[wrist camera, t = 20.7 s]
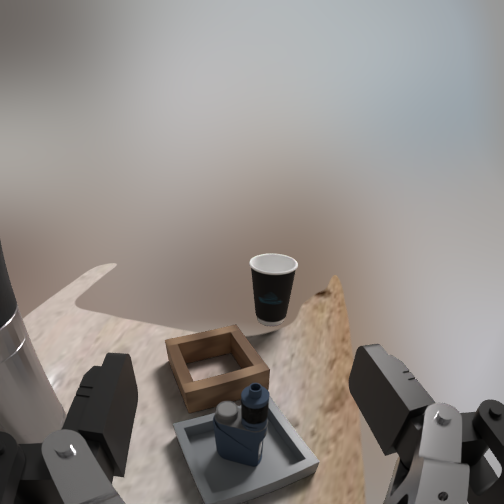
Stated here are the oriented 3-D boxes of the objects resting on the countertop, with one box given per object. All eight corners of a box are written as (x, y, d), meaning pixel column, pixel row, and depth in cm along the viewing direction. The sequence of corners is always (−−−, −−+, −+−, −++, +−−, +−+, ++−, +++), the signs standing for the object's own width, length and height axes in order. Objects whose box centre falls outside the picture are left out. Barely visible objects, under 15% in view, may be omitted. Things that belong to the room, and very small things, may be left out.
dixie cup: (278, 303, 60) (281, 250, 56) (301, 324, 53) (307, 267, 49) (241, 312, 57) (241, 257, 53) (261, 336, 50) (263, 276, 46)
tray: (208, 512, 22) (206, 504, 21) (176, 435, 31) (172, 423, 30) (315, 472, 26) (319, 461, 25) (268, 408, 36) (269, 395, 35)
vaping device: (260, 469, 26) (266, 401, 22) (213, 457, 28) (203, 386, 23) (267, 451, 29) (274, 379, 24) (221, 440, 30) (215, 366, 26)
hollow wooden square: (189, 413, 34) (185, 392, 33) (168, 360, 44) (164, 339, 42) (268, 390, 39) (269, 369, 37) (236, 344, 48) (236, 324, 46)
